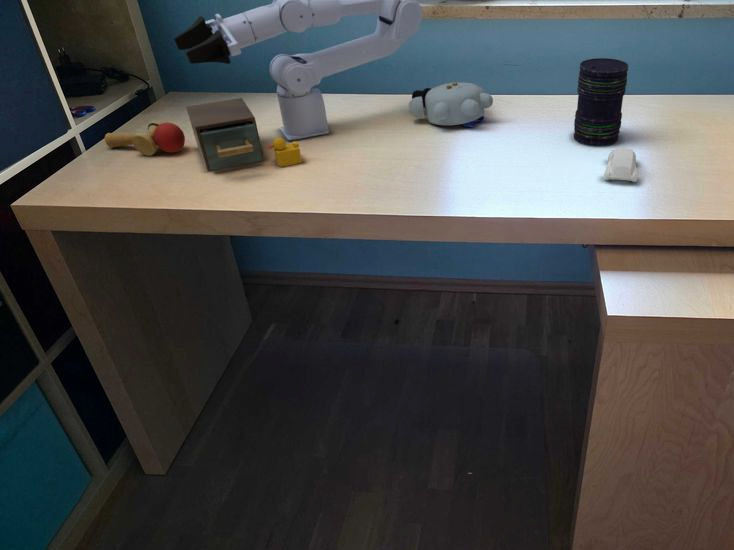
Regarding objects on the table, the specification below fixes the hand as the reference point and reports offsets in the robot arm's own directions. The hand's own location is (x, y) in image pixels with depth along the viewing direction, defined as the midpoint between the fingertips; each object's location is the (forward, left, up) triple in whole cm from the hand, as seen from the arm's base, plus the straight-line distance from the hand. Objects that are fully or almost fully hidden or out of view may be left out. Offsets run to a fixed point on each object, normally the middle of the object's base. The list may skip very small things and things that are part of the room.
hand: (181, 50), depth 122 cm
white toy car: (-70, +49, -20) cm, 88 cm away
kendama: (+12, -8, -20) cm, 25 cm away
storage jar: (-76, +32, -20) cm, 85 cm away
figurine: (-53, +5, -20) cm, 57 cm away
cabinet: (-4, +3, -20) cm, 21 cm away
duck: (-14, +13, -20) cm, 28 cm away
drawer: (-4, +8, -19) cm, 21 cm away
